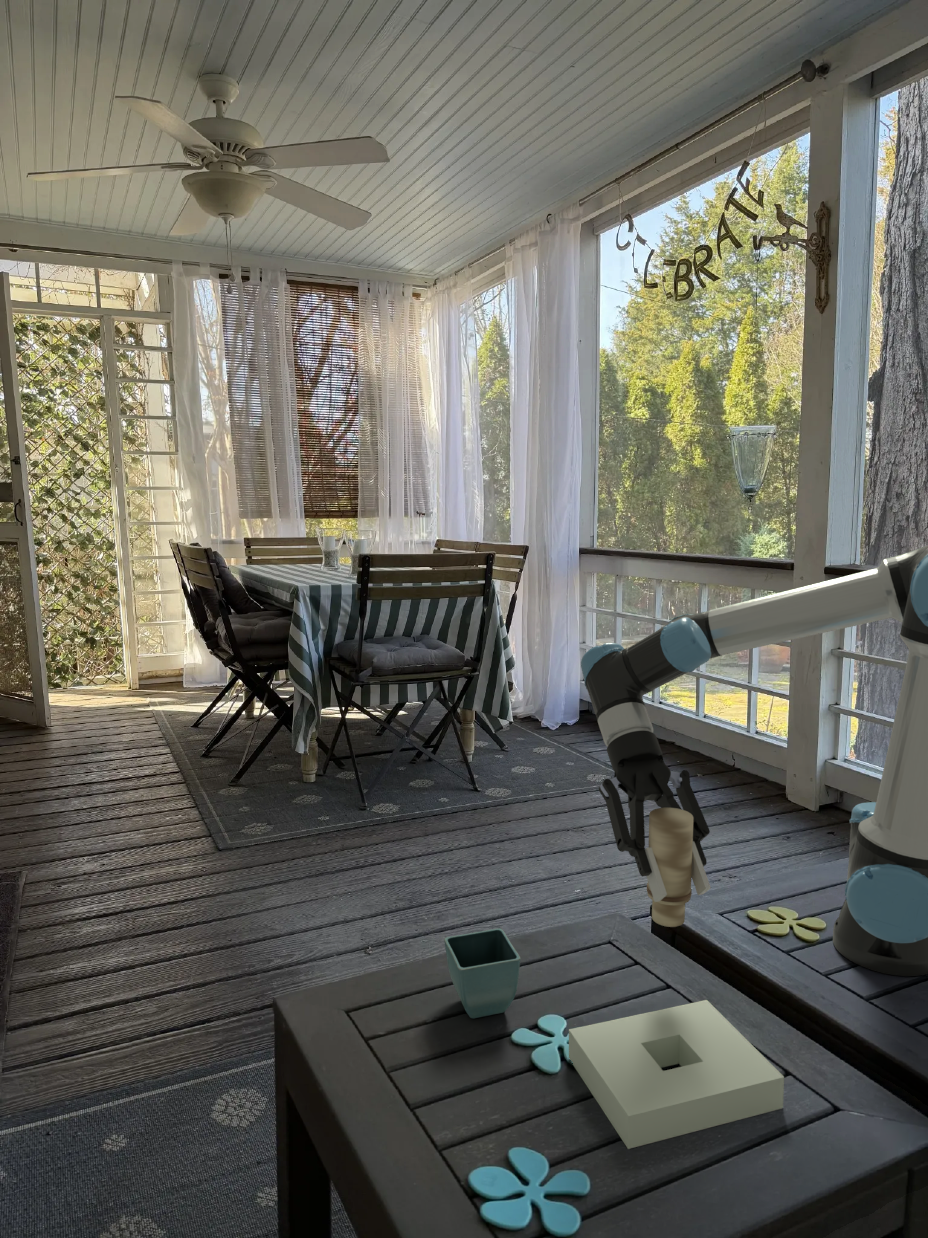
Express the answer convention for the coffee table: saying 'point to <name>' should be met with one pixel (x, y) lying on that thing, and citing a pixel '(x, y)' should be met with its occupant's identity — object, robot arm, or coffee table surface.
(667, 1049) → the sage board
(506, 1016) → the coffee table surface
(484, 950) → the flower pot
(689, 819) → the tan wooden cylinder
